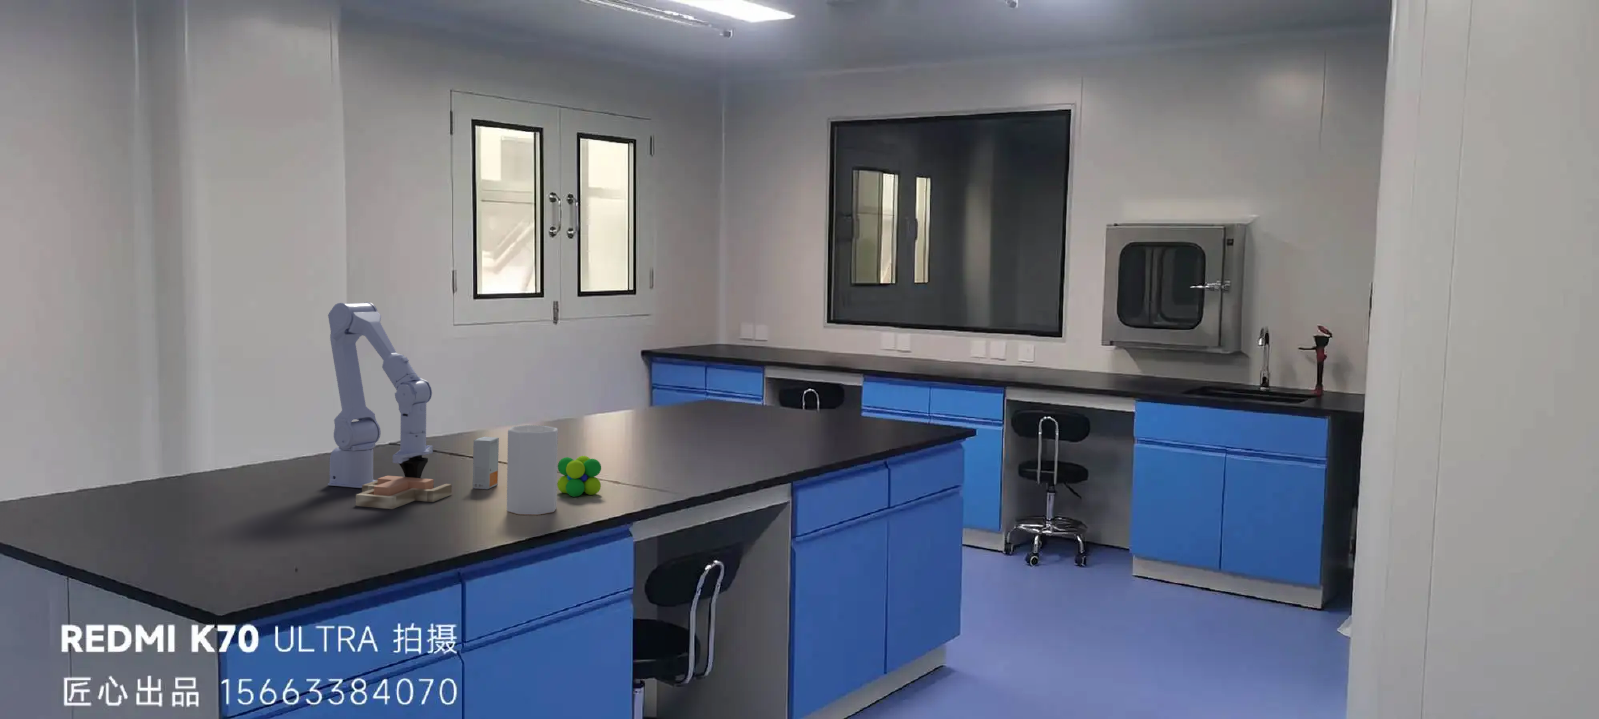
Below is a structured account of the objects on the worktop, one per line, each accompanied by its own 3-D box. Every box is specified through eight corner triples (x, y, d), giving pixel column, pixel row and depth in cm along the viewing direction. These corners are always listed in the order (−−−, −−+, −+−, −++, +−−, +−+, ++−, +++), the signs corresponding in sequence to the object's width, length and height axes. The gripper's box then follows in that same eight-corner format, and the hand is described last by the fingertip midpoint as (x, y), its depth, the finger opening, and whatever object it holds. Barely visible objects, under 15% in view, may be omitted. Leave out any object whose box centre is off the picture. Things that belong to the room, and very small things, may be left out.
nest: (337, 504, 256) (337, 493, 256) (382, 488, 273) (382, 478, 273) (410, 510, 252) (411, 499, 252) (451, 494, 270) (451, 484, 270)
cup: (512, 517, 250) (514, 433, 248) (501, 506, 260) (502, 425, 258) (562, 513, 255) (564, 431, 253) (549, 503, 265) (551, 424, 263)
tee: (357, 502, 258) (357, 485, 258) (387, 492, 270) (387, 475, 270) (406, 506, 256) (406, 489, 255) (433, 496, 268) (433, 479, 267)
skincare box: (488, 489, 277) (489, 441, 276) (472, 488, 277) (472, 440, 276) (498, 485, 283) (499, 437, 282) (482, 483, 283) (482, 436, 282)
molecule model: (570, 499, 270) (603, 495, 276) (571, 462, 269) (604, 459, 275) (554, 492, 277) (586, 488, 282) (554, 456, 276) (587, 453, 282)
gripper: (412, 437, 261) (412, 495, 262) (444, 428, 275) (444, 483, 276) (384, 435, 262) (384, 493, 263) (417, 426, 276) (417, 481, 278)
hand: (412, 488), depth 270 cm, fingers closed
